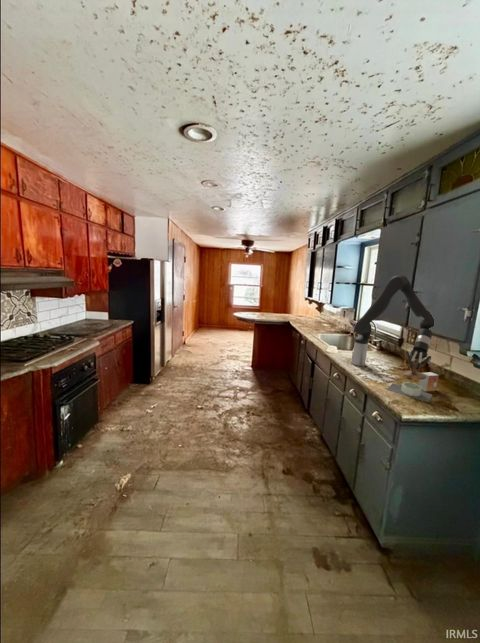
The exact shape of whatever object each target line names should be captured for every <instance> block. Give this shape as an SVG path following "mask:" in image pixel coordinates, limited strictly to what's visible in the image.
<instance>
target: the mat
mask: <svg viewBox="0 0 480 643" xmlns="http://www.w3.org/2000/svg"><path fill="white" fill-rule="evenodd" d="M401 387H402V385H400V384H395V383H391V384H390V386H388V387H387V389H386V391H389V392H393V393H396V394H399V395H403V396H405V397H409V398H413V399H417V400H420V401H422V402H427V403H429V402H430V400H431V398H432V397H433V394H432V393H429V392H426V391H422V392H421V395H420V396H418V397H414V396H409V395H406V394H404V393H403V392H402V391H401Z"/></svg>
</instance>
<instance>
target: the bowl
mask: <svg viewBox="0 0 480 643" xmlns="http://www.w3.org/2000/svg"><path fill="white" fill-rule="evenodd" d="M401 386H402V387H401V391H402V392H403V393H404V394H406V395H409V396H414V397H418V396H420V395H421V392H423V390H422V387H421V386H420V385H419V384H418V383H414V382H408V381H407V382H405V381H403V382H402V383H401ZM409 396H408V397H409Z"/></svg>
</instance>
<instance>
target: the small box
mask: <svg viewBox="0 0 480 643" xmlns="http://www.w3.org/2000/svg"><path fill="white" fill-rule="evenodd" d="M421 373H422V374H424V375H426V379H423V380H419V384H418V385H420V386H421V387H422V391H423V392H435V391H437V386H438V382H439V378H440V377H439V376H440V375H439V374H438V373H435V372H433V371H429V372H421Z"/></svg>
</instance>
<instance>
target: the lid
mask: <svg viewBox="0 0 480 643" xmlns="http://www.w3.org/2000/svg"><path fill="white" fill-rule="evenodd" d="M418 363H419V361H417V362H416V361H414V362H413V367H412V369H411V370H408V369H407V370H406V369H405V370H403V371H402V372H401V373H402V375H403V377H407V378H409V379H412V380H413V379H414V380H418V381H420V380H423V379H426V375H424V374H422V373H423V372H420V371H418V370H416V367H417V365H418Z"/></svg>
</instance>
